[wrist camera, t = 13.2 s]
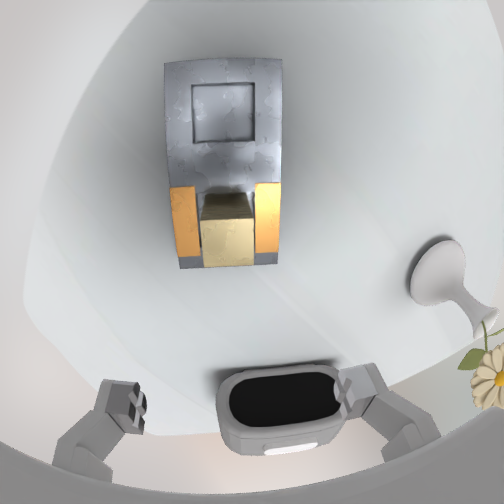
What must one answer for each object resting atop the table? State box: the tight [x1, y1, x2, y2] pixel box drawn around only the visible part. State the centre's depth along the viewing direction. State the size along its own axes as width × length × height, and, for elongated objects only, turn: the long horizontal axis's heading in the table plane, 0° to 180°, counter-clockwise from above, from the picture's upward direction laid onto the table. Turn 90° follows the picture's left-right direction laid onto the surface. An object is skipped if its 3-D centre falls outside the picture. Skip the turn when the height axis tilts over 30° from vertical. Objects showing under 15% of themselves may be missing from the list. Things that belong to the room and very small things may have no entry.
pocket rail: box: [164, 58, 282, 269], centre depth 24 cm, size 20×10×3 cm, turn 0°
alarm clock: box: [216, 363, 346, 456], centre depth 37 cm, size 21×10×13 cm, turn 89°
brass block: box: [200, 193, 254, 267], centre depth 24 cm, size 4×4×7 cm
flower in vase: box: [410, 240, 504, 410], centre depth 25 cm, size 13×11×25 cm
